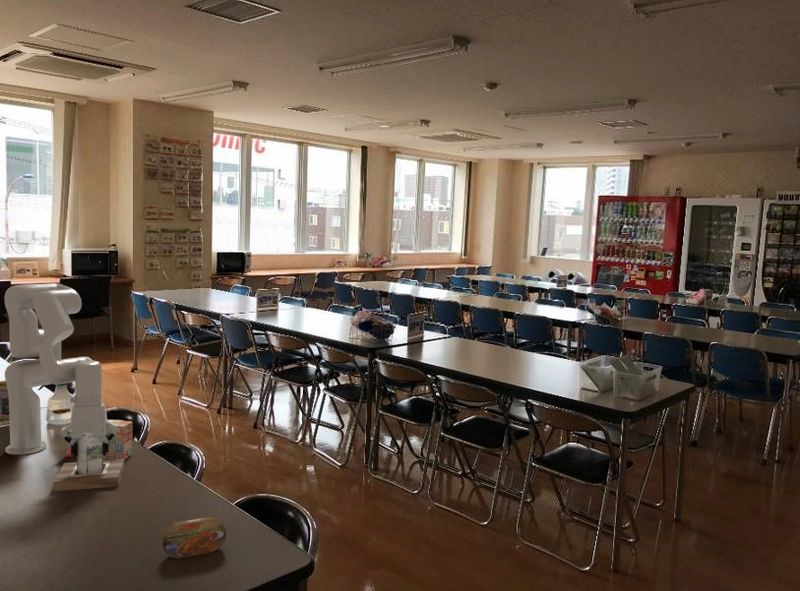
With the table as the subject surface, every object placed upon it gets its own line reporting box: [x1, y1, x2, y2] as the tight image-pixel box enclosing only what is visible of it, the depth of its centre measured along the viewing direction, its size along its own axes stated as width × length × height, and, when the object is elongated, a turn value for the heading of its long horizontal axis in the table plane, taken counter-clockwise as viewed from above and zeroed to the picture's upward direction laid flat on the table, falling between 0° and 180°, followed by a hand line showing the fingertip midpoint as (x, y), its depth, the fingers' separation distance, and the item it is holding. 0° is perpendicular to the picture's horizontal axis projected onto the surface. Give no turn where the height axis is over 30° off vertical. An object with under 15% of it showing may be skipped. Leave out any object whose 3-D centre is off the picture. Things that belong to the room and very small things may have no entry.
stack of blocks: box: [64, 419, 134, 461], centre depth 226 cm, size 21×6×12 cm, turn 84°
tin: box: [161, 516, 227, 559], centre depth 161 cm, size 15×3×8 cm, turn 114°
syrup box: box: [76, 432, 104, 475], centre depth 204 cm, size 6×6×14 cm
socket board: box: [52, 459, 125, 492], centre depth 205 cm, size 16×18×3 cm
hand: (90, 455), depth 205 cm, fingers closed on syrup box, 8 cm apart
